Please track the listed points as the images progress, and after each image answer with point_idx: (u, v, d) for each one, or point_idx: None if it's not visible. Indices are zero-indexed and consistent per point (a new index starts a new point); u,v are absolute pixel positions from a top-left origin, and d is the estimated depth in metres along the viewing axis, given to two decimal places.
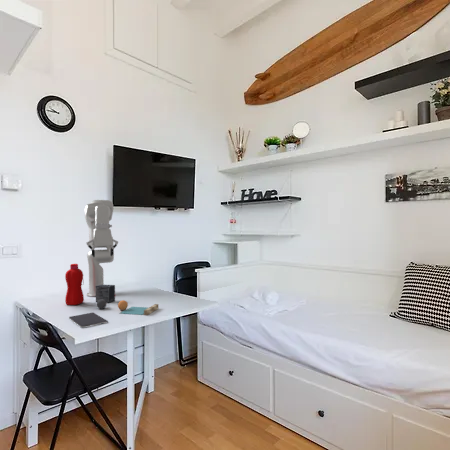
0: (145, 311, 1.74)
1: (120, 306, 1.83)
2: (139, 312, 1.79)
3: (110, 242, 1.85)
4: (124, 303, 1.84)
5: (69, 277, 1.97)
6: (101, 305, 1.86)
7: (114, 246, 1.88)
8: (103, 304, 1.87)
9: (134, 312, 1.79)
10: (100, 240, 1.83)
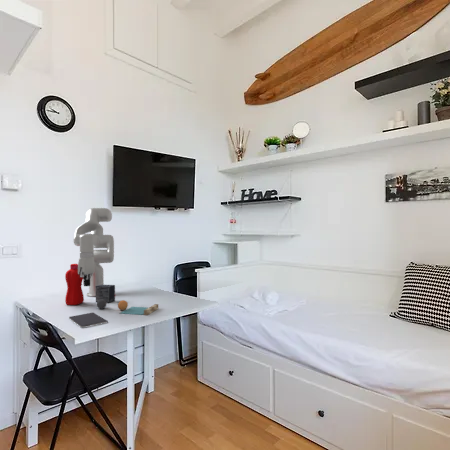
0: (145, 311, 1.74)
1: (120, 306, 1.83)
2: (139, 312, 1.79)
3: (94, 269, 1.94)
4: (124, 303, 1.84)
5: (69, 277, 1.97)
6: (101, 305, 1.86)
7: None
8: (103, 304, 1.87)
9: (134, 312, 1.79)
10: (88, 268, 1.88)
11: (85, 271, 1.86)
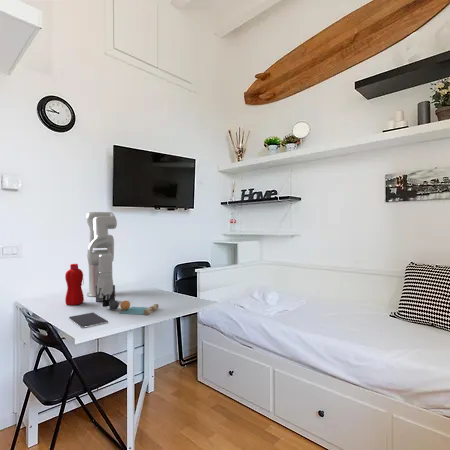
0: (145, 311, 1.74)
1: (122, 306, 1.82)
2: (139, 312, 1.79)
3: (112, 289, 1.91)
4: (127, 305, 1.83)
5: (69, 277, 1.97)
6: (109, 306, 1.85)
7: None
8: None
9: (134, 312, 1.79)
10: (107, 288, 1.86)
11: (104, 292, 1.83)
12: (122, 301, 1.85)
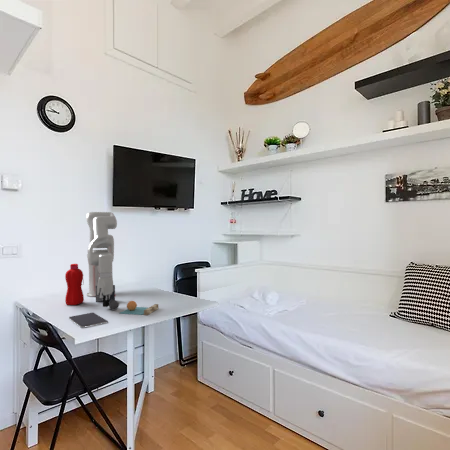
0: (145, 311, 1.74)
1: (129, 306, 1.82)
2: (139, 312, 1.79)
3: (112, 289, 1.91)
4: (131, 310, 1.83)
5: (69, 277, 1.97)
6: (109, 306, 1.85)
7: None
8: None
9: (134, 312, 1.79)
10: (108, 288, 1.86)
11: (104, 292, 1.83)
12: (134, 303, 1.83)
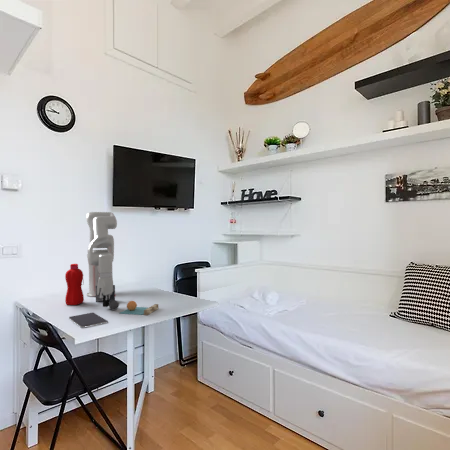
0: (145, 311, 1.74)
1: (129, 306, 1.82)
2: (139, 312, 1.79)
3: (112, 289, 1.91)
4: (131, 310, 1.83)
5: (69, 277, 1.97)
6: (109, 306, 1.85)
7: None
8: None
9: (134, 312, 1.79)
10: (108, 288, 1.86)
11: (104, 292, 1.83)
12: (134, 303, 1.83)
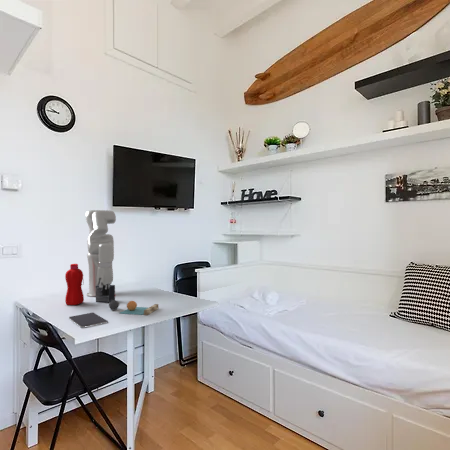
0: (145, 311, 1.74)
1: (129, 306, 1.82)
2: (139, 312, 1.79)
3: (112, 278, 1.92)
4: (131, 310, 1.83)
5: (69, 277, 1.97)
6: (109, 306, 1.85)
7: (108, 285, 1.90)
8: None
9: (134, 312, 1.79)
10: (107, 278, 1.86)
11: (104, 281, 1.84)
12: (134, 303, 1.83)
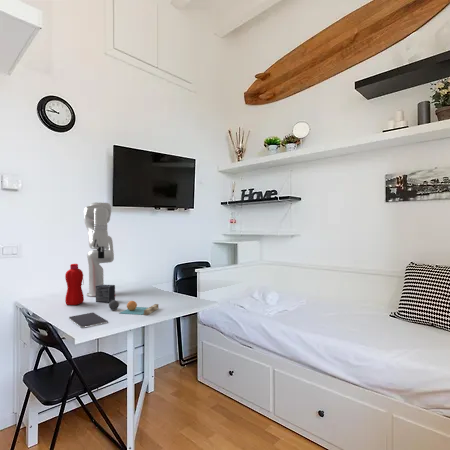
0: (145, 311, 1.74)
1: (129, 306, 1.82)
2: (139, 312, 1.79)
3: (107, 242, 1.99)
4: (131, 310, 1.83)
5: (69, 277, 1.97)
6: (109, 306, 1.85)
7: None
8: None
9: (134, 312, 1.79)
10: (103, 240, 1.93)
11: (99, 243, 1.91)
12: (134, 303, 1.83)
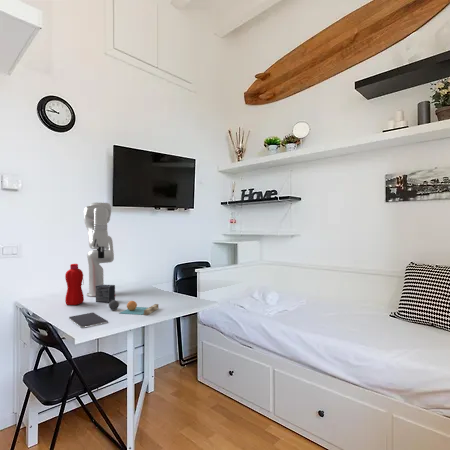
0: (145, 311, 1.74)
1: (129, 306, 1.82)
2: (139, 312, 1.79)
3: (107, 242, 1.99)
4: (131, 310, 1.83)
5: (69, 277, 1.97)
6: (109, 306, 1.85)
7: None
8: None
9: (134, 312, 1.79)
10: (102, 240, 1.93)
11: (99, 243, 1.91)
12: (134, 303, 1.83)
